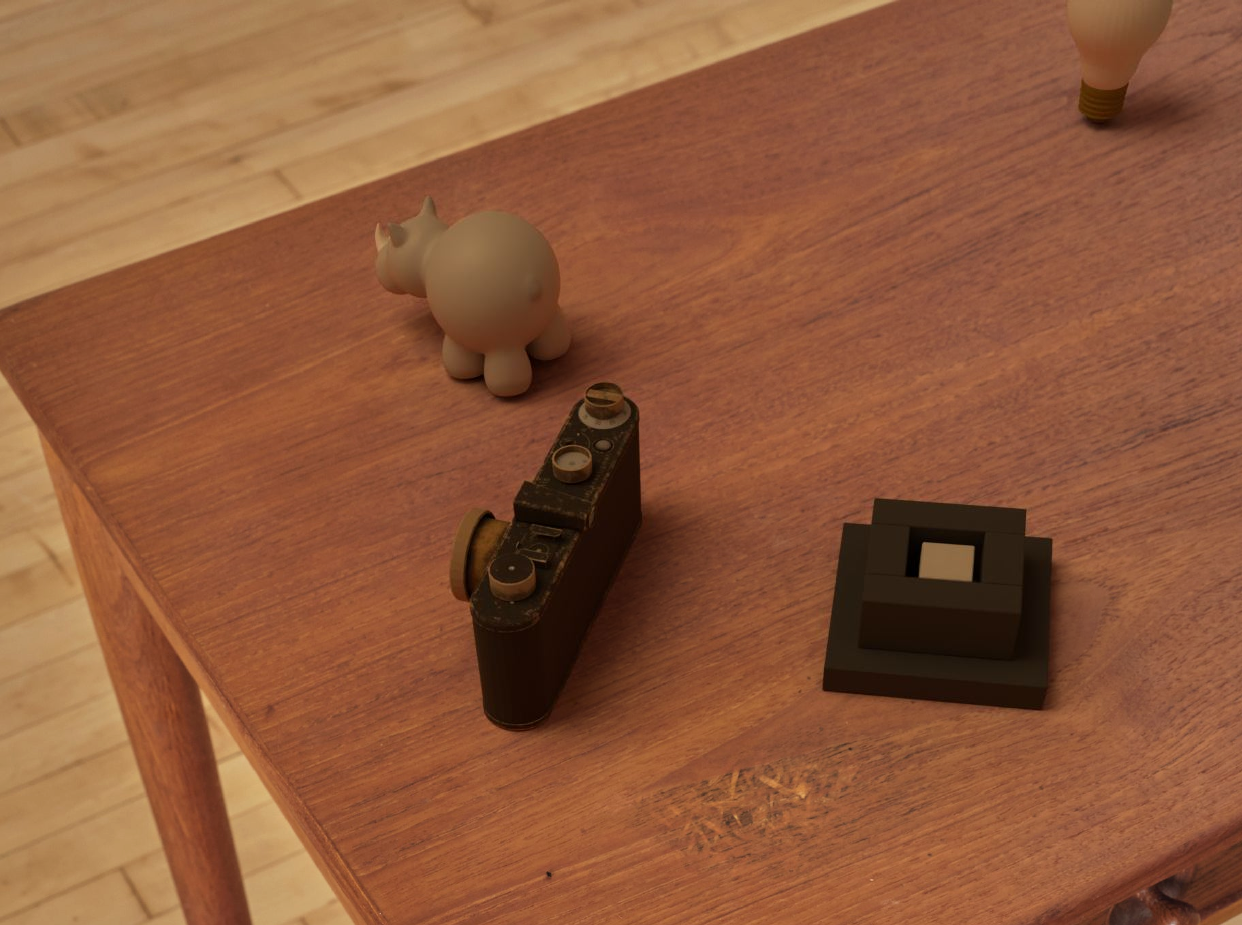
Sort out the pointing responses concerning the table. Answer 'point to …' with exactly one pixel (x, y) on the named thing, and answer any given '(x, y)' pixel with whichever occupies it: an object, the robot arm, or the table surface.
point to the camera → (551, 558)
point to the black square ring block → (943, 608)
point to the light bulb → (1112, 48)
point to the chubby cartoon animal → (480, 291)
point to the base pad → (933, 672)
